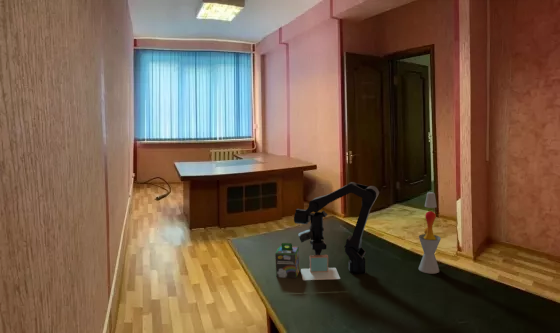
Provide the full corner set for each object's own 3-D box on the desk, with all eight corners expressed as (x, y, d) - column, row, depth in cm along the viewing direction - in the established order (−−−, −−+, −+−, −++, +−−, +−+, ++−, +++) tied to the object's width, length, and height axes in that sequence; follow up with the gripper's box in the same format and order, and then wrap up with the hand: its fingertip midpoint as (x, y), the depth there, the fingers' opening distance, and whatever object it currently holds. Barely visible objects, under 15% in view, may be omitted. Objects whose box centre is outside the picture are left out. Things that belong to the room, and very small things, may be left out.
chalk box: (299, 270, 171) (299, 239, 169) (296, 279, 162) (295, 246, 160) (279, 269, 173) (279, 238, 171) (275, 278, 164) (274, 245, 162)
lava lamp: (443, 273, 164) (445, 194, 160) (422, 274, 164) (424, 195, 160) (434, 265, 173) (437, 190, 169) (415, 265, 173) (416, 190, 169)
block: (327, 269, 171) (327, 254, 170) (328, 271, 168) (328, 256, 167) (309, 270, 171) (309, 255, 170) (310, 272, 168) (310, 257, 167)
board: (335, 268, 173) (335, 267, 173) (340, 279, 161) (340, 278, 161) (300, 269, 172) (300, 268, 172) (302, 281, 160) (302, 280, 160)
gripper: (297, 220, 182) (298, 251, 184) (300, 231, 164) (301, 266, 166) (320, 219, 183) (321, 250, 185) (326, 231, 164) (326, 265, 166)
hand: (317, 257), depth 175 cm, fingers closed
